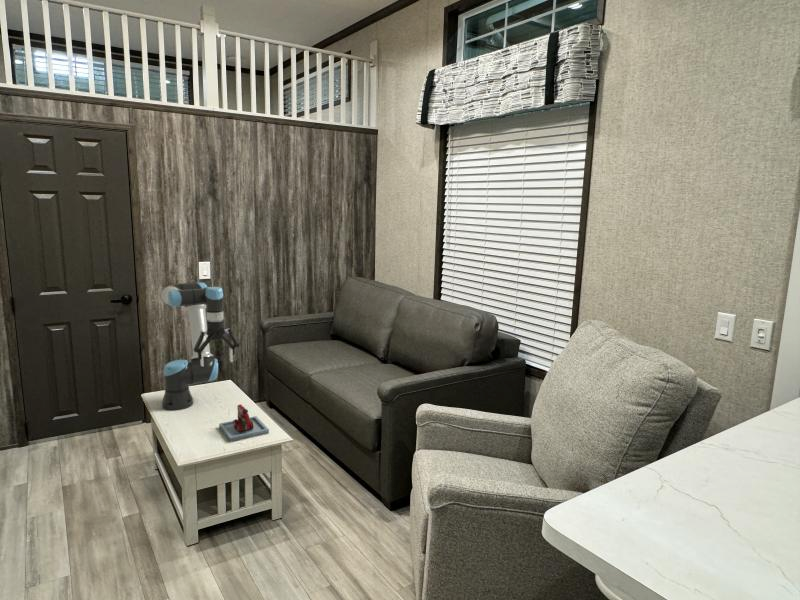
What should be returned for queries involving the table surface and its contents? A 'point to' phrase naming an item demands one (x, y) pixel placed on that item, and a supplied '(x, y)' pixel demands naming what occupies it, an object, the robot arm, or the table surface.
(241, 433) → the tray
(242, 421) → the toy fire truck
